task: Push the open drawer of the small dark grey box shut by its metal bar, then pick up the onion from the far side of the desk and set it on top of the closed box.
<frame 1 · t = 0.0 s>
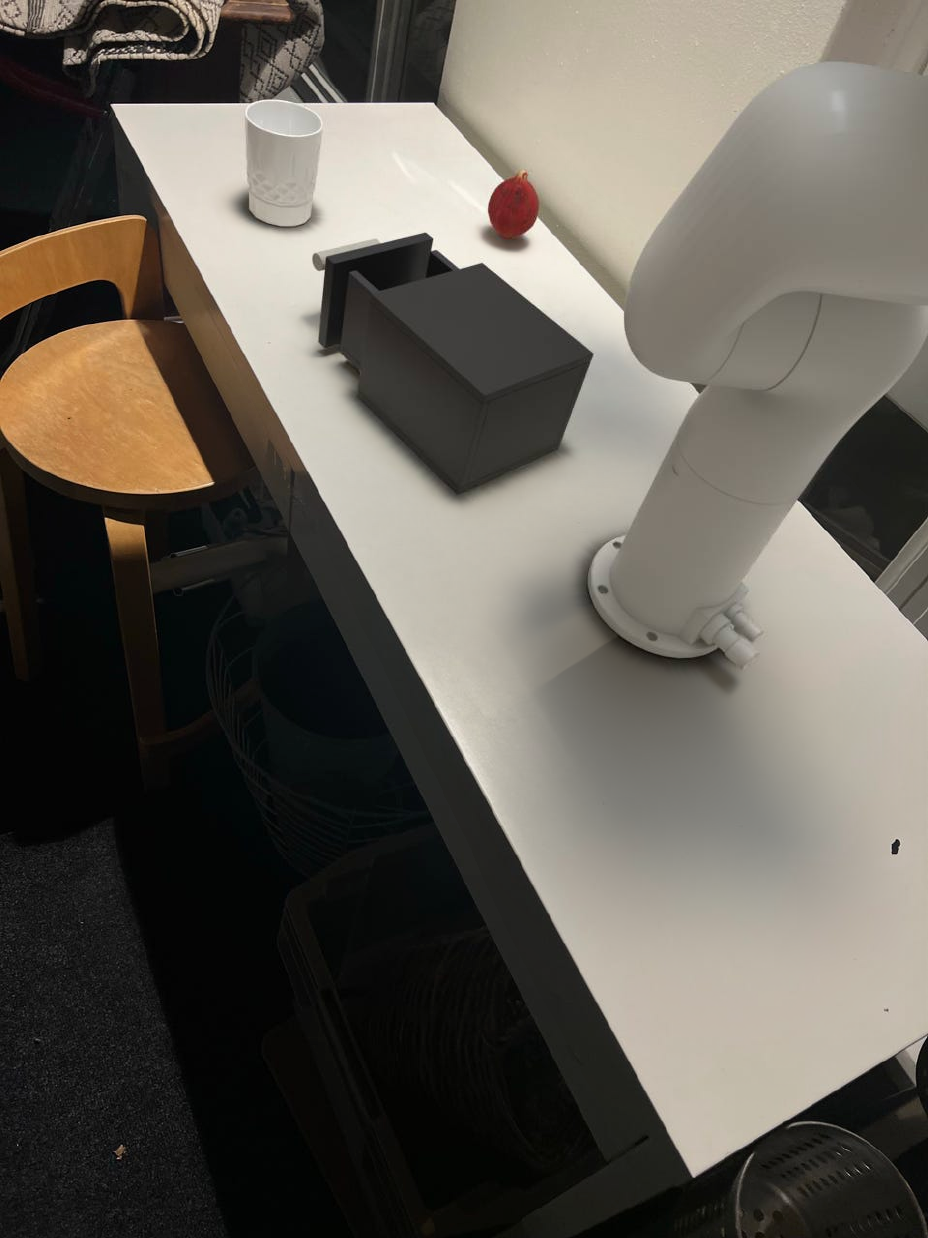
dark grey box: (458, 422, 83), on the table
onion: (505, 240, 106), on the table
drawer: (399, 312, 83), point 5 cm above the table, slide at 6.0 cm
white cup: (279, 212, 100), on the table
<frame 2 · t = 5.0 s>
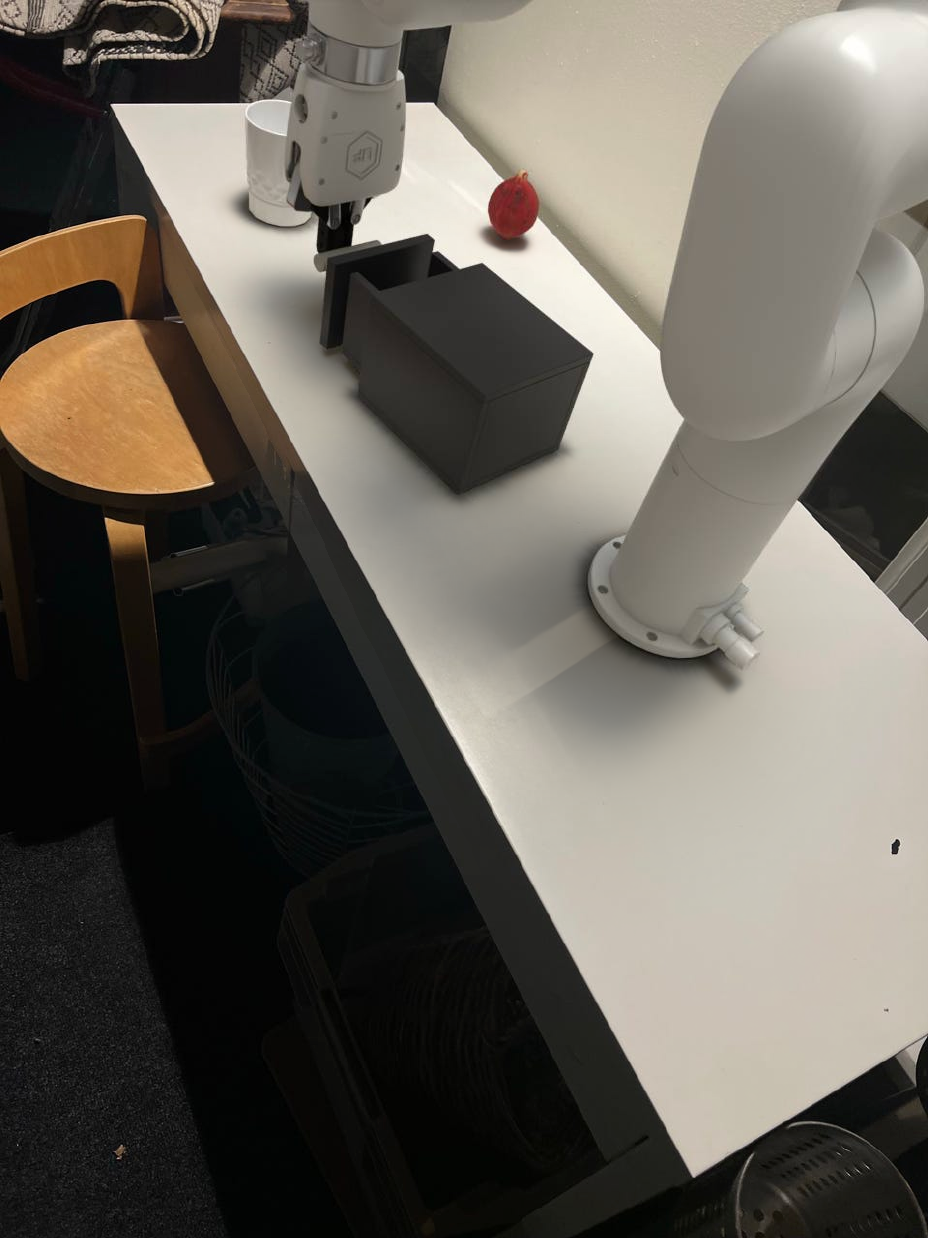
hand: (332, 258, 88), 5 cm above the table, tool pointing down, fingers closed
drawer: (401, 313, 83), point 5 cm above the table, slide at 5.8 cm, touching gripper
everything else where it was.
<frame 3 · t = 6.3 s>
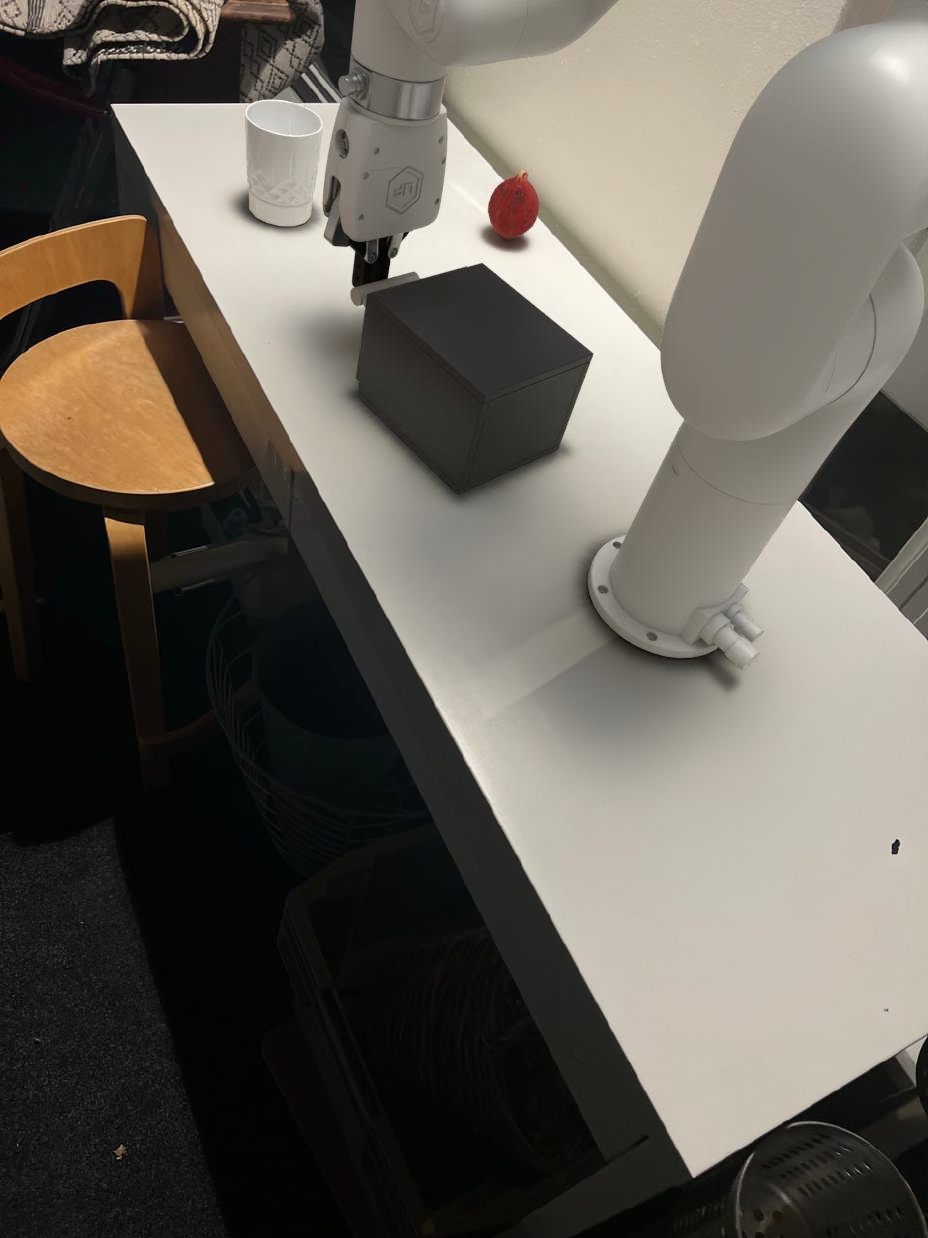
hand: (368, 291, 86), 5 cm above the table, tool pointing down, fingers closed
drawer: (440, 348, 81), point 5 cm above the table, slide at 0.0 cm, touching dark grey box, gripper
everything else where it was.
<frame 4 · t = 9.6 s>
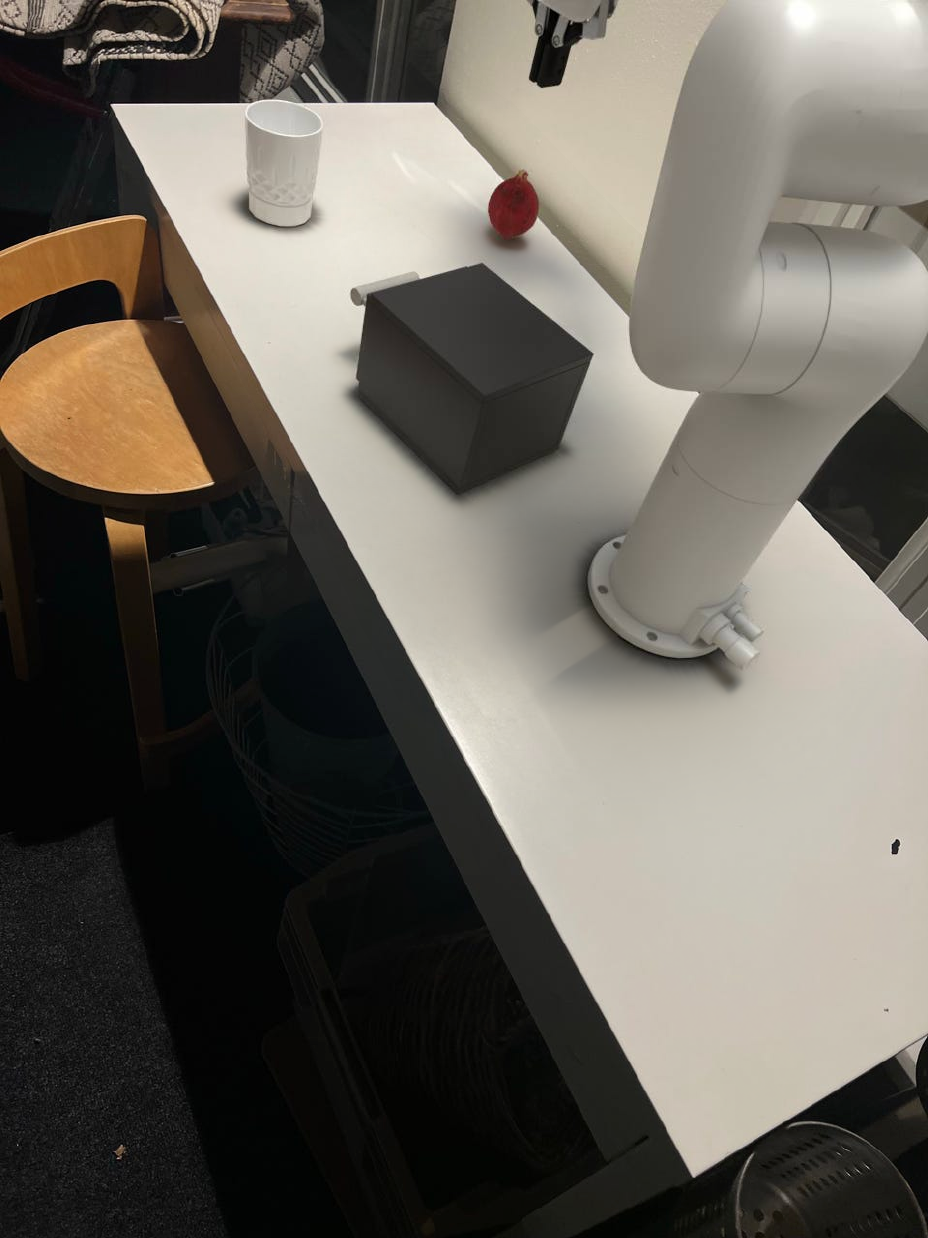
hand: (544, 82, 93), 17 cm above the table, tool pointing down, fingers closed
drawer: (440, 348, 81), point 5 cm above the table, slide at 0.0 cm, touching dark grey box
everything else where it was.
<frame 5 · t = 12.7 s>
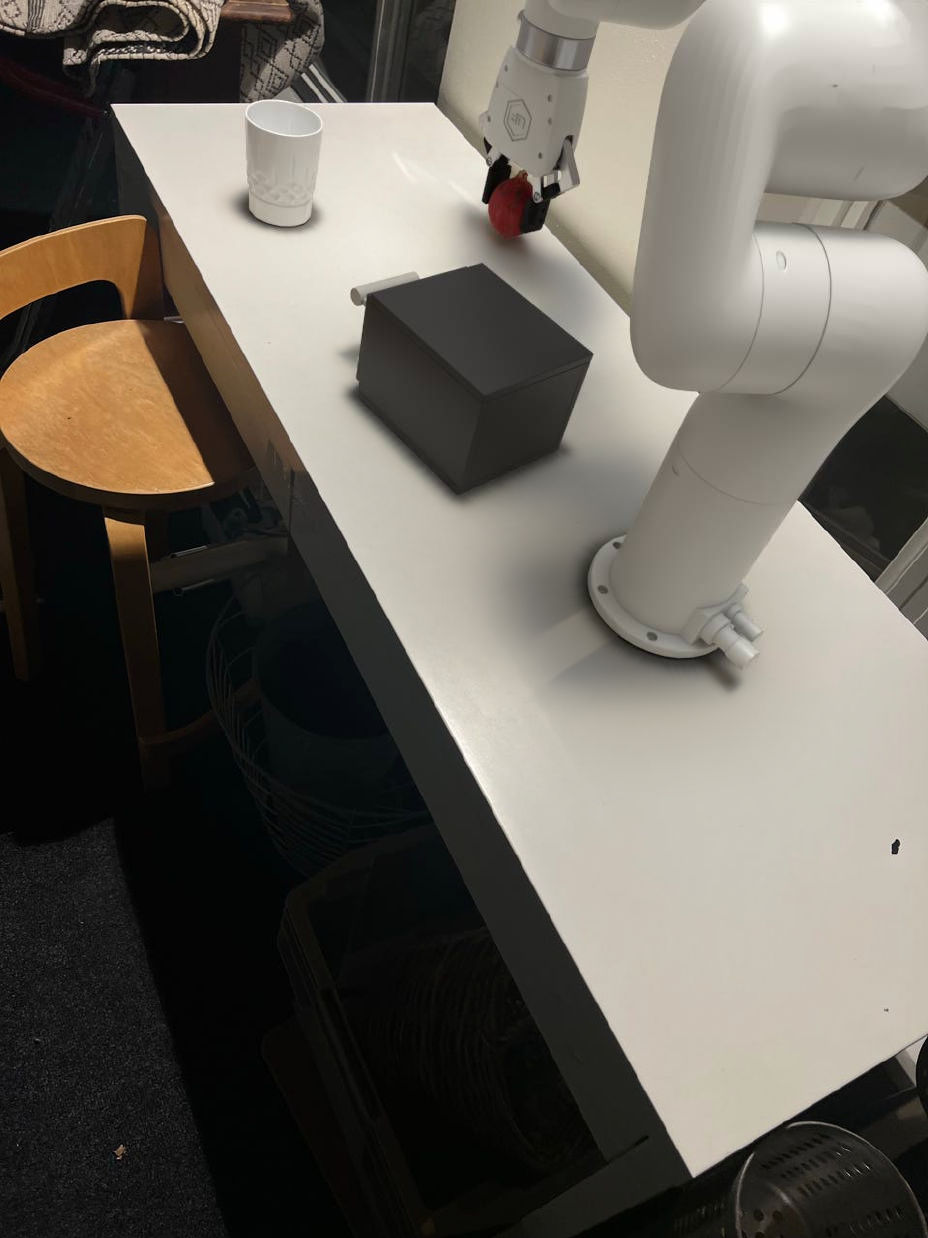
hand: (511, 214, 104), 3 cm above the table, tool pointing down, fingers closed on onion, 5 cm apart
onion: (505, 240, 106), on the table, touching gripper
everything else where it was.
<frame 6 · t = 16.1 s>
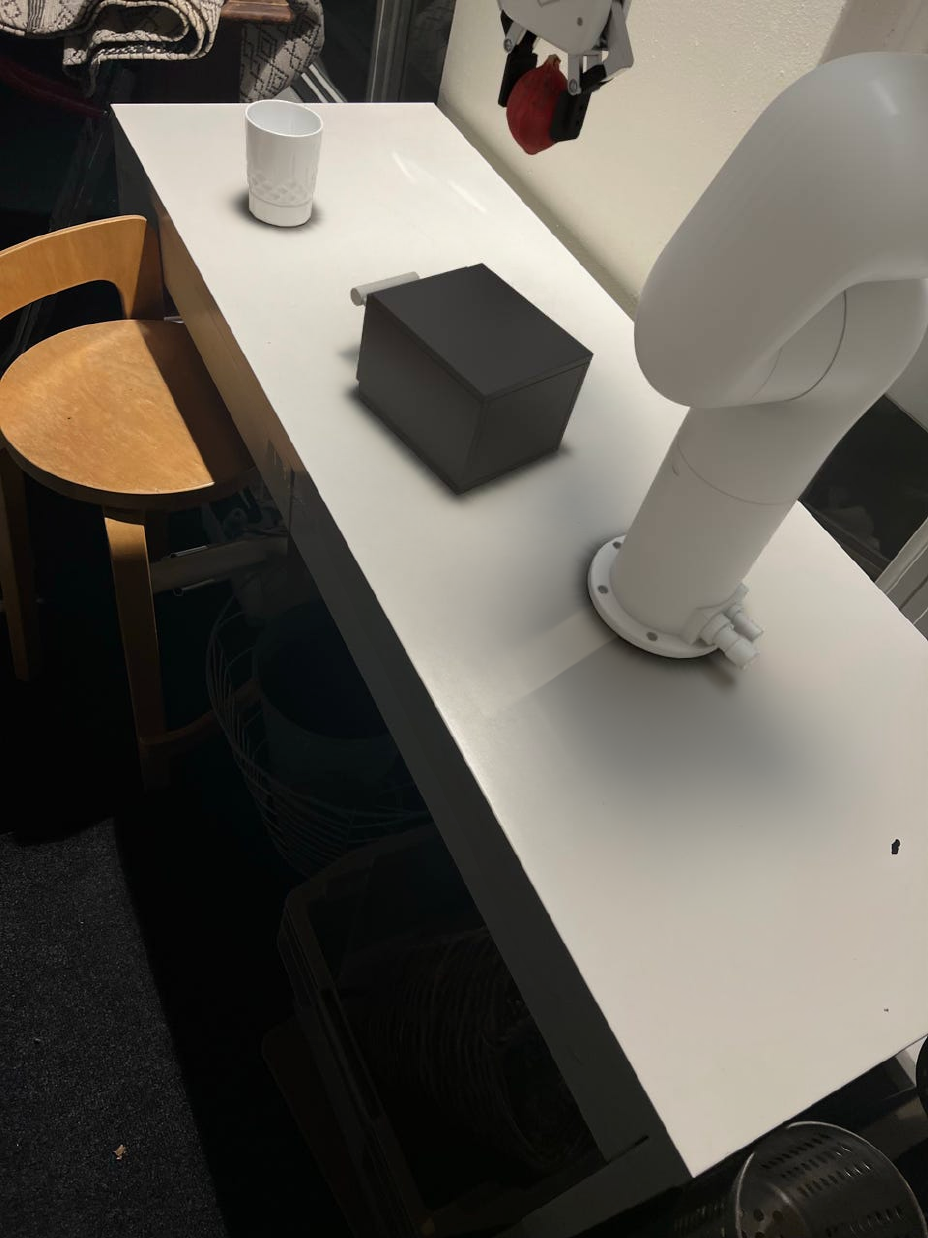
hand: (537, 119, 78), 21 cm above the table, tool pointing down, fingers closed on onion, 5 cm apart
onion: (528, 156, 80), point 18 cm above the table, touching gripper
everything else where it was.
when the fingers open (14 cm above the table, at t = 19.7 s): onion stays where it is, resting on dark grey box.
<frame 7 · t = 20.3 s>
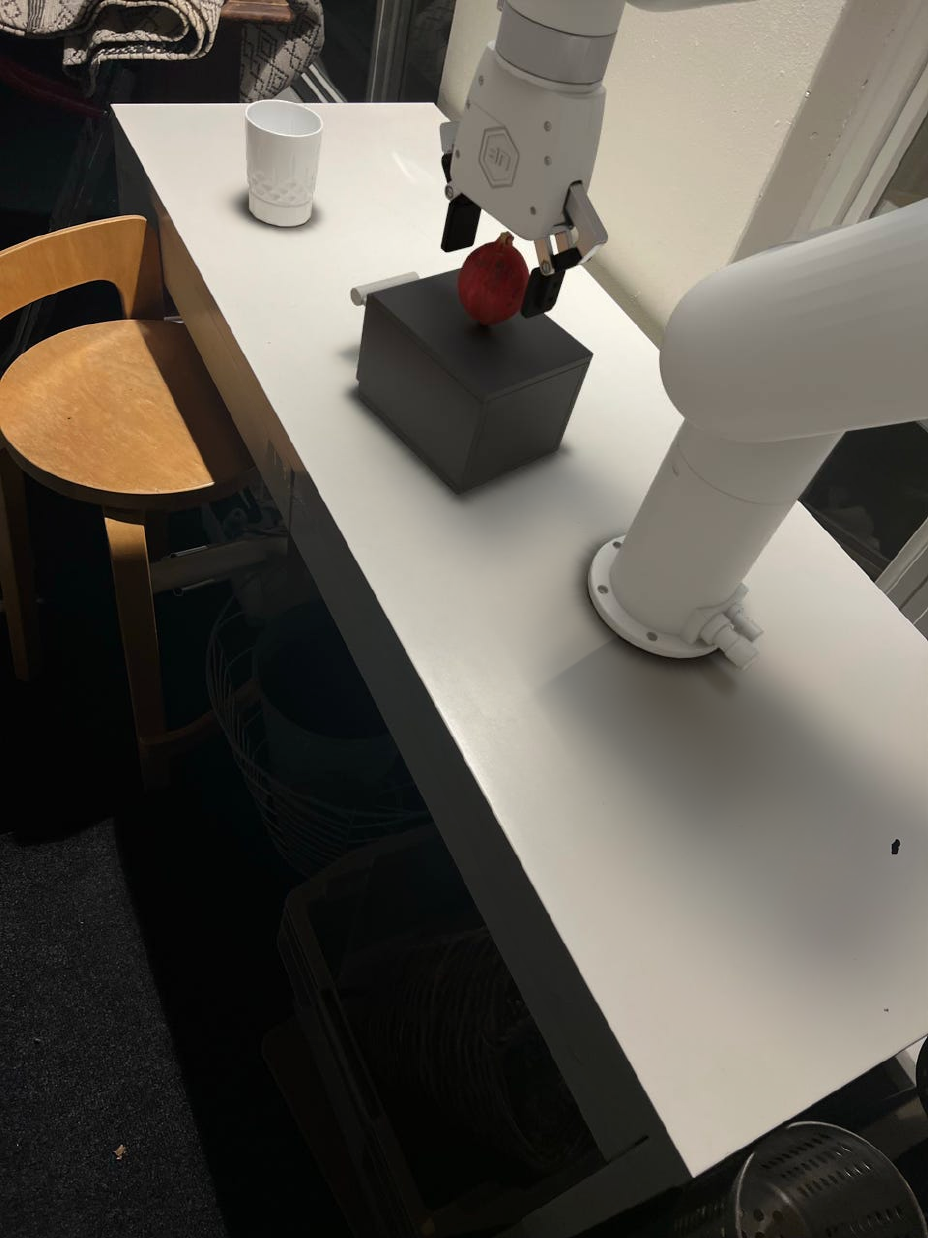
hand: (495, 279, 72), 15 cm above the table, tool pointing down, fingers open, 9 cm apart
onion: (483, 325, 75), point 10 cm above the table, touching dark grey box
everything else where it was.
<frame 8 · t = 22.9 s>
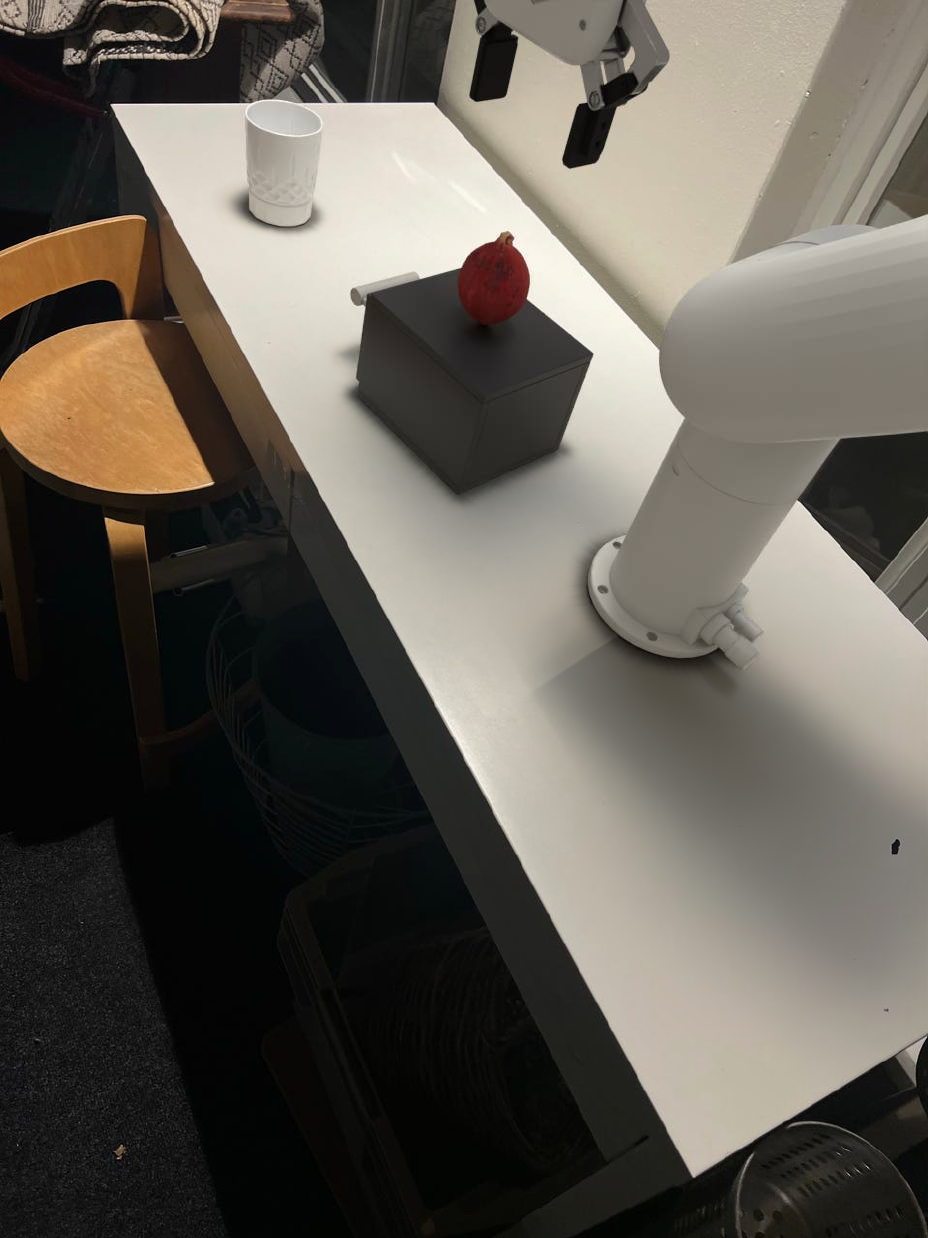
hand: (532, 130, 63), 26 cm above the table, tool pointing down, fingers open, 9 cm apart
nothing on the table moved.
at the end: drawer slide at 0.0 cm; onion inside the target area on the dark grey box (0.1 cm from its centre), point 10.4 cm above the dark grey box's base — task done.
